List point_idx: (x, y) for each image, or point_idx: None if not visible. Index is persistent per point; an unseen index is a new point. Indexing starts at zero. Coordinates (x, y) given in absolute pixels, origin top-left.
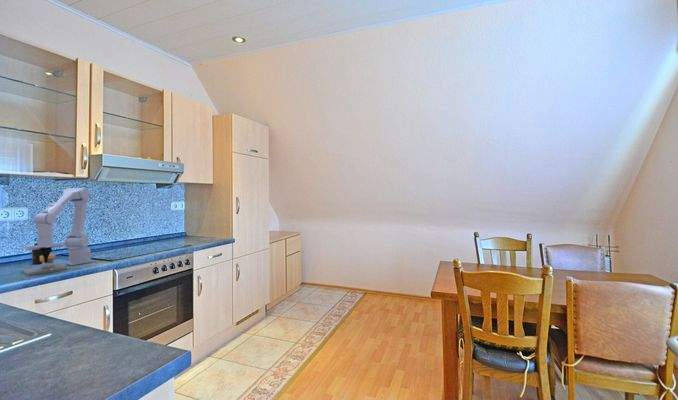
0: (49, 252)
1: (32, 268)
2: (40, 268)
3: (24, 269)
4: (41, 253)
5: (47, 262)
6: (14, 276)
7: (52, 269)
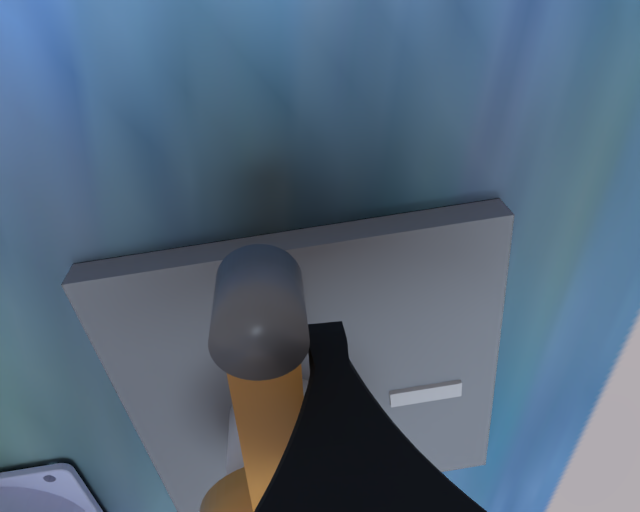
0: (280, 503)
1: None
2: None
3: (464, 464)
4: None
5: None
6: (582, 293)
7: None
